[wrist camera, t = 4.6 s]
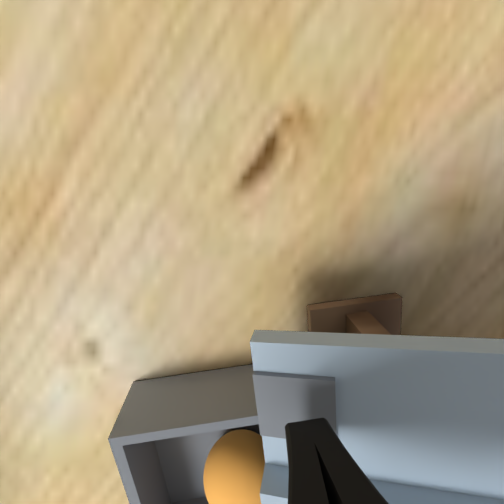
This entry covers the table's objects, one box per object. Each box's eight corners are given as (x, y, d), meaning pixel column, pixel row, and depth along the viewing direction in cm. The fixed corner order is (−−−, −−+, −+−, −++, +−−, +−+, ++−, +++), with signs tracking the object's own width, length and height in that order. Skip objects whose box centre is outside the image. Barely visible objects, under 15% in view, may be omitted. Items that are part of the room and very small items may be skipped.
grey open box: (300, 357, 16) (319, 406, 13) (308, 476, 19) (325, 542, 16) (133, 381, 16) (108, 438, 12) (166, 500, 19) (152, 573, 15)
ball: (221, 405, 17) (285, 422, 15) (229, 455, 18) (290, 475, 17) (181, 471, 13) (259, 501, 12) (195, 527, 15) (267, 561, 13)
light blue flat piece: (654, 344, 8) (770, 408, 6) (563, 601, 12) (615, 698, 10) (254, 329, 11) (238, 369, 9) (279, 539, 15) (272, 602, 13)
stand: (395, 292, 16) (470, 347, 11) (389, 432, 18) (446, 523, 14) (306, 305, 15) (343, 366, 11) (314, 444, 18) (345, 542, 13)
